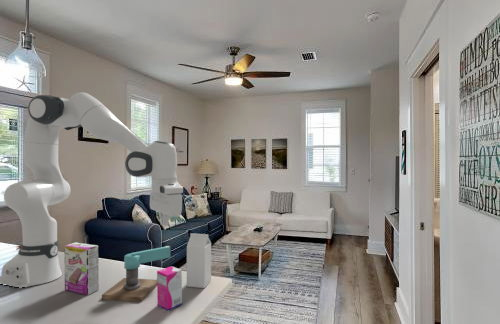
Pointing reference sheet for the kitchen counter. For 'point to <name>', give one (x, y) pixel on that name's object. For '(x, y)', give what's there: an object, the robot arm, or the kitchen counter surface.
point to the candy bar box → (81, 268)
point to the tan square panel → (130, 288)
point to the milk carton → (198, 260)
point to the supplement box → (169, 288)
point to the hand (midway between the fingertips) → (164, 225)
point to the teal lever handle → (145, 257)
